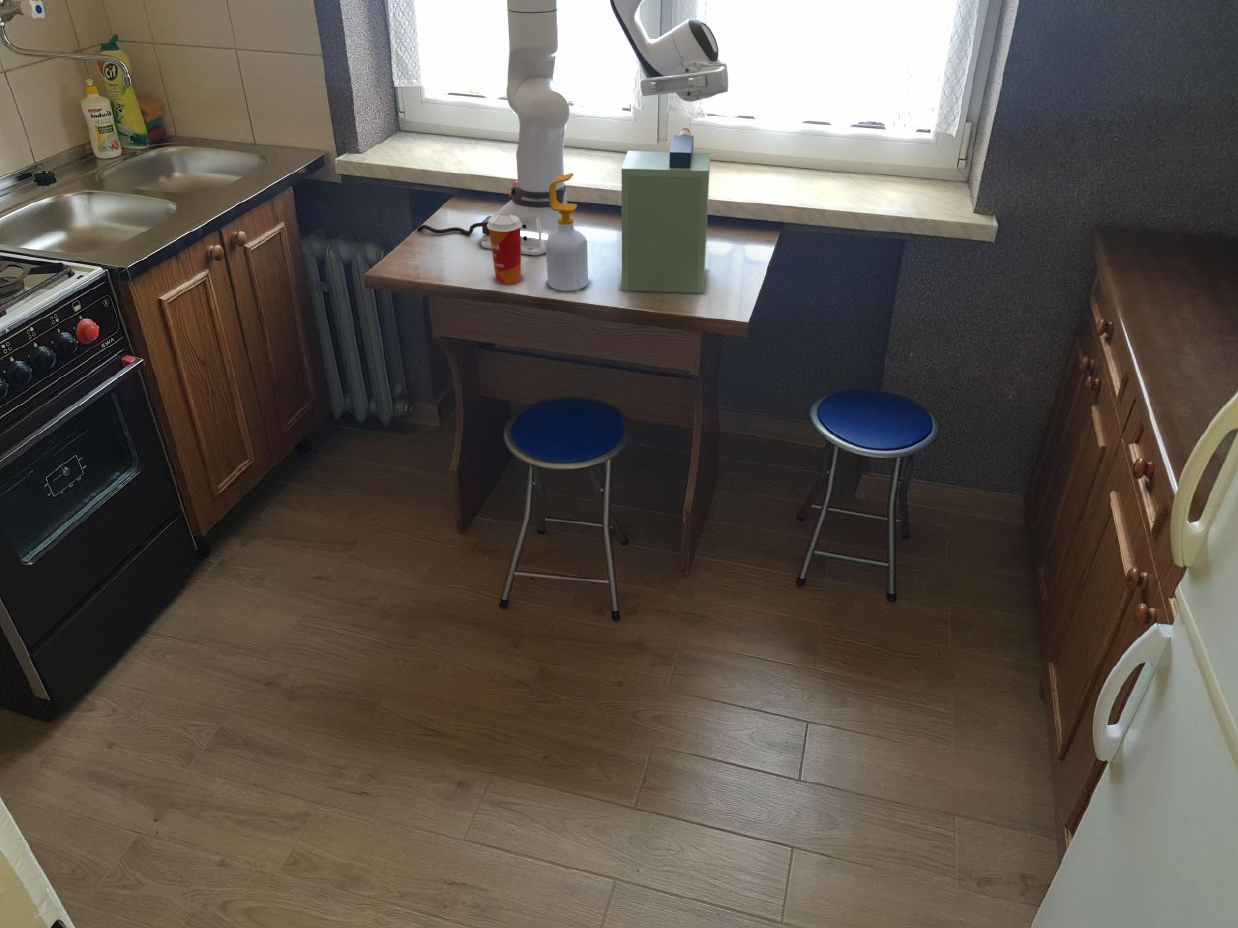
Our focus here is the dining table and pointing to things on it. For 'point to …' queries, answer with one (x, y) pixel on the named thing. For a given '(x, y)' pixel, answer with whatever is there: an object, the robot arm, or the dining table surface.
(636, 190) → the stand
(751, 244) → the dining table surface
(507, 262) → the paper cup
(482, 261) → the dining table surface
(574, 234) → the soap bottle
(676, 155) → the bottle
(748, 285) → the dining table surface
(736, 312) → the dining table surface
